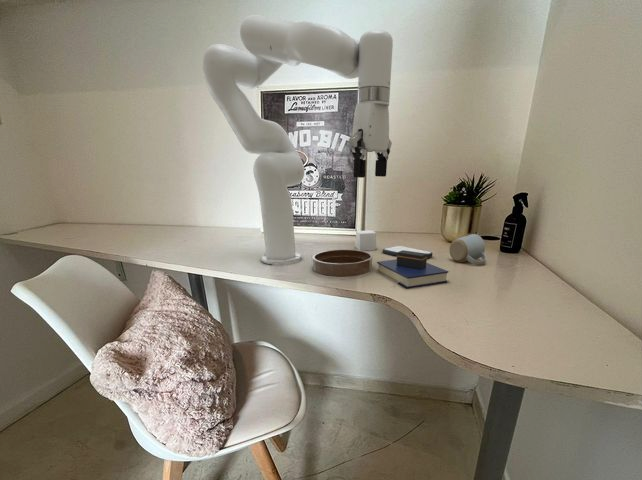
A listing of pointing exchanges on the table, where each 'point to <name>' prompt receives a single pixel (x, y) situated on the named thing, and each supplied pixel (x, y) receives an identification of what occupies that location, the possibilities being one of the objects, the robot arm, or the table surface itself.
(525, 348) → the table surface
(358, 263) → the bowl
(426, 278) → the book
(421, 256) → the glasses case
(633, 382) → the table surface
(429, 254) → the phone case
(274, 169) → the robot arm
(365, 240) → the white cube
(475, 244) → the ceramic mug
